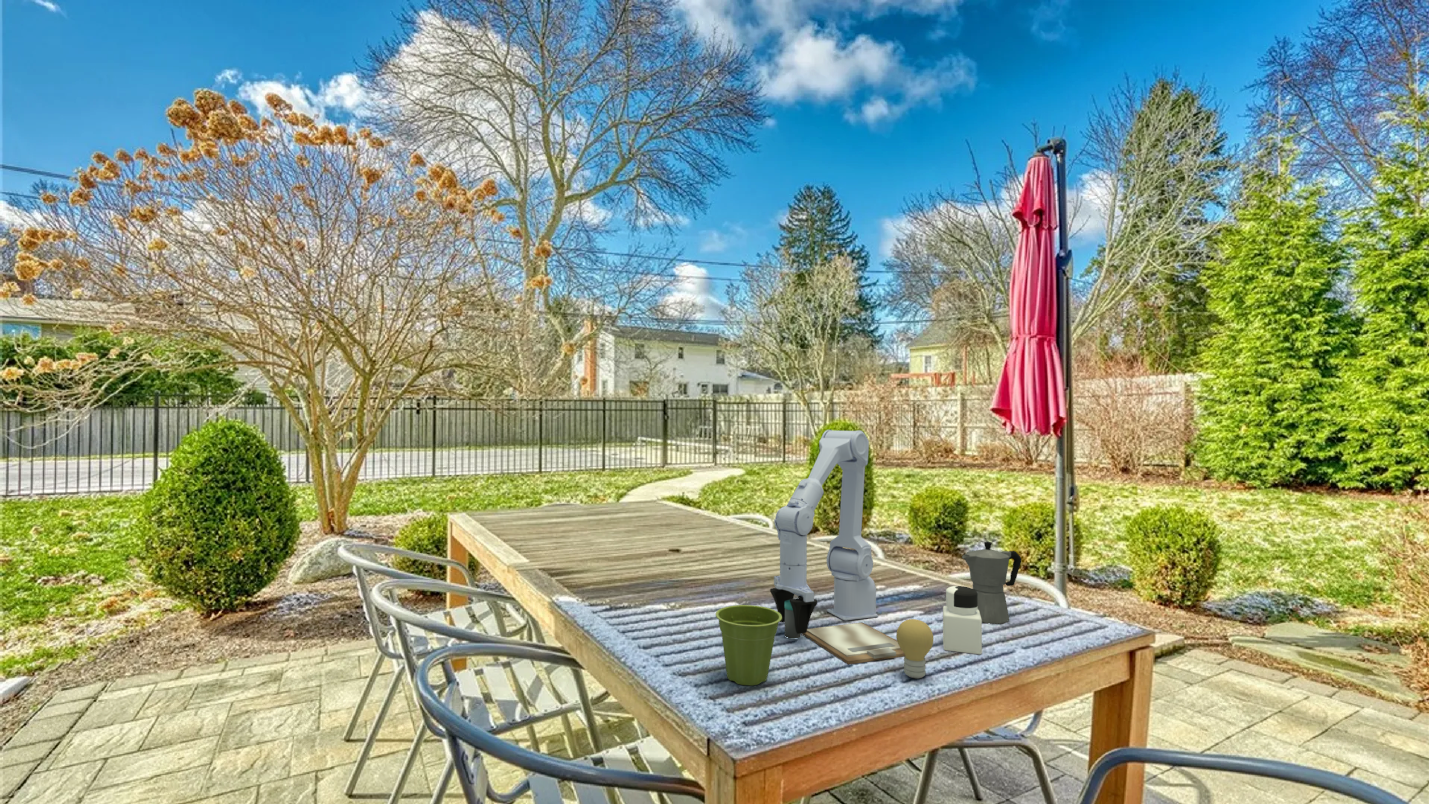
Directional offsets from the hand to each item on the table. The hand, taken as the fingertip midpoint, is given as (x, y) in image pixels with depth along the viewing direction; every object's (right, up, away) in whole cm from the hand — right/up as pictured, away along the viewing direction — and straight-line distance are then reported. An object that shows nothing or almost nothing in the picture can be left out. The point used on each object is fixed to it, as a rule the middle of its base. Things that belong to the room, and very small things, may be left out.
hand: (792, 627), depth 133 cm
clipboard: (+13, -2, -4) cm, 13 cm away
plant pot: (-11, -1, -22) cm, 25 cm away
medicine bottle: (+34, -2, -5) cm, 35 cm away
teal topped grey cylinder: (0, -2, 0) cm, 2 cm away
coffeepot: (+49, -3, +14) cm, 51 cm away
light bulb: (+20, -2, -20) cm, 28 cm away
